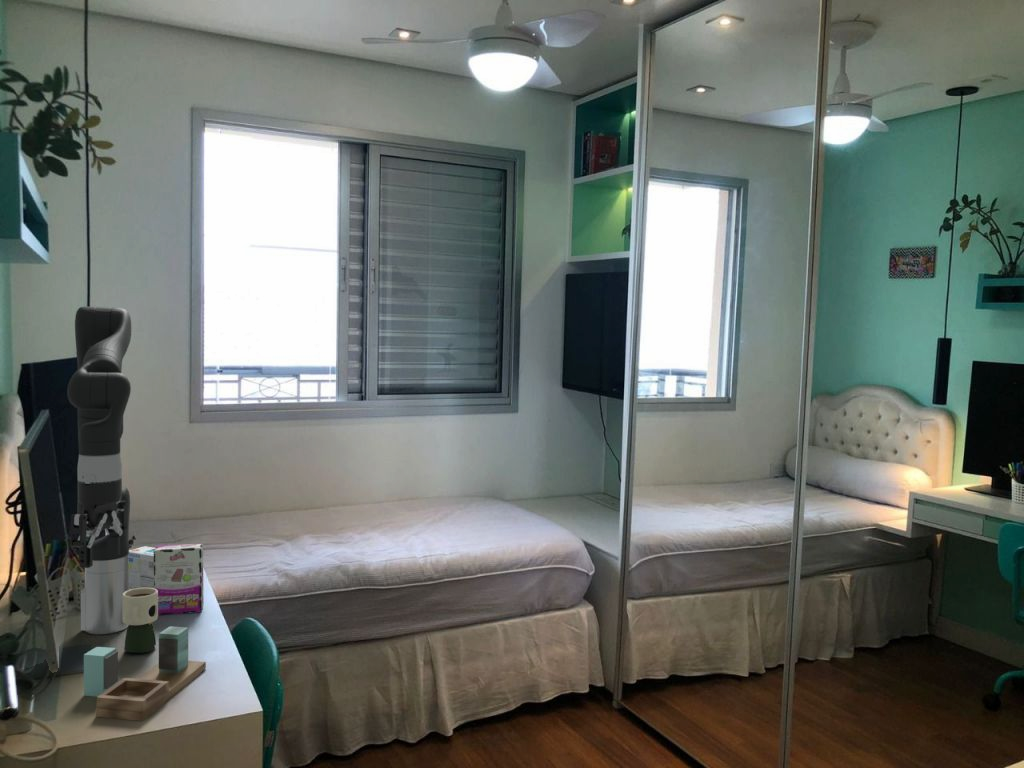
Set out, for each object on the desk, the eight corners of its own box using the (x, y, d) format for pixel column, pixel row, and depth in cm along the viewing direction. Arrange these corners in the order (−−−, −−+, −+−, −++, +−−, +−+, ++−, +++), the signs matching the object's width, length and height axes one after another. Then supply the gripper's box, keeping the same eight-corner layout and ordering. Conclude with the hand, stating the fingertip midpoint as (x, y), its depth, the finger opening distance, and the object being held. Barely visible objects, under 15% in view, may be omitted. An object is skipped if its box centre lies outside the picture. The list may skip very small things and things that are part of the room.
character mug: (152, 659, 172) (152, 599, 172) (116, 661, 171) (116, 601, 170) (162, 640, 183) (162, 583, 182) (128, 642, 181) (128, 585, 181)
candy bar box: (203, 606, 206) (204, 542, 205) (201, 612, 201) (202, 547, 200) (156, 609, 203) (156, 544, 202) (153, 615, 198) (153, 549, 197)
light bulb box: (175, 589, 219) (175, 549, 218) (155, 596, 213) (155, 555, 212) (145, 583, 223) (145, 545, 223) (125, 590, 217) (125, 550, 216)
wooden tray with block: (95, 716, 147) (95, 665, 146) (164, 665, 169) (165, 621, 169) (142, 720, 145) (142, 669, 145) (205, 669, 168) (205, 624, 168)
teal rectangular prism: (83, 695, 155) (83, 654, 154) (97, 686, 159) (96, 646, 158) (105, 697, 154) (105, 656, 154) (118, 688, 158) (118, 648, 158)
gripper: (104, 470, 162) (104, 550, 163) (56, 482, 148) (56, 570, 148) (139, 471, 161) (139, 552, 162) (94, 484, 147) (94, 572, 148)
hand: (100, 560), depth 155 cm, fingers open, 8 cm apart
